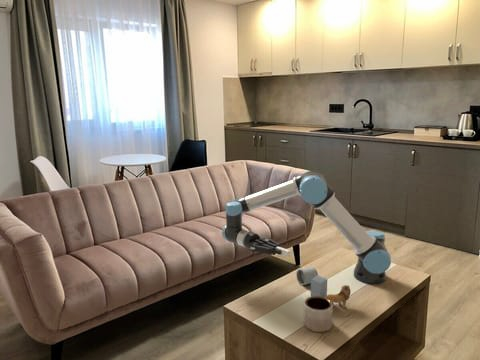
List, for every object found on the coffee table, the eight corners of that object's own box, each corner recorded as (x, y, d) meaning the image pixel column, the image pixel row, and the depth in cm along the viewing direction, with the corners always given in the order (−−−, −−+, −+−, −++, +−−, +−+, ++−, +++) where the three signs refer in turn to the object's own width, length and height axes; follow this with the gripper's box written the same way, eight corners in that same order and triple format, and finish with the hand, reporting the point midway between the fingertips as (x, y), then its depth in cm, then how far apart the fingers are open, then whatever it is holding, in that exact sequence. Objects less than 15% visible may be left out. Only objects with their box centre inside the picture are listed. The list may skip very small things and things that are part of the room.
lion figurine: (344, 300, 172) (345, 281, 170) (353, 306, 168) (354, 287, 166) (318, 309, 165) (318, 290, 163) (326, 316, 161) (327, 296, 159)
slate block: (310, 299, 173) (311, 279, 171) (317, 295, 177) (317, 275, 174) (319, 304, 170) (320, 282, 167) (326, 299, 173) (327, 279, 171)
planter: (304, 332, 150) (304, 309, 148) (303, 316, 161) (303, 295, 159) (333, 334, 149) (334, 311, 147) (330, 317, 159) (331, 296, 157)
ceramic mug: (319, 284, 187) (319, 269, 185) (305, 288, 183) (305, 272, 182) (306, 275, 196) (306, 261, 195) (292, 279, 193) (292, 264, 191)
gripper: (258, 243, 185) (298, 257, 169) (238, 251, 177) (278, 267, 160) (258, 228, 184) (298, 241, 167) (238, 236, 175) (278, 250, 158)
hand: (288, 254), depth 163 cm, fingers closed
